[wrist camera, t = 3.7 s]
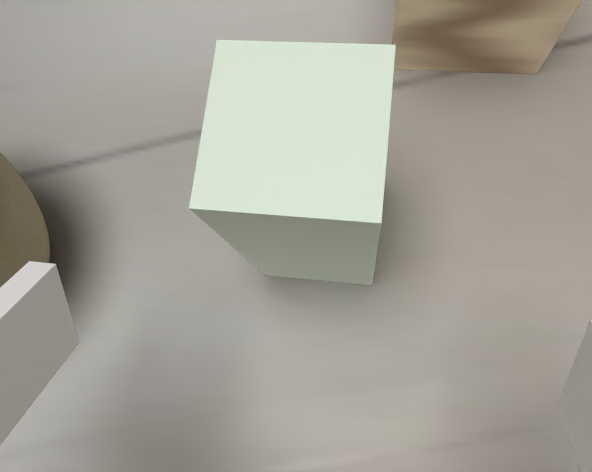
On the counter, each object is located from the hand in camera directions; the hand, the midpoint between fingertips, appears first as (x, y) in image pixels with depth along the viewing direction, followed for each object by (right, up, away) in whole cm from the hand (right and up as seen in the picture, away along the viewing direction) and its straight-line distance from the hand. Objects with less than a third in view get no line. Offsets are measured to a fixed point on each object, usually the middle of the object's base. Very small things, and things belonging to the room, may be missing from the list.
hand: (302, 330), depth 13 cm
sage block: (+1, +3, +11) cm, 12 cm away
